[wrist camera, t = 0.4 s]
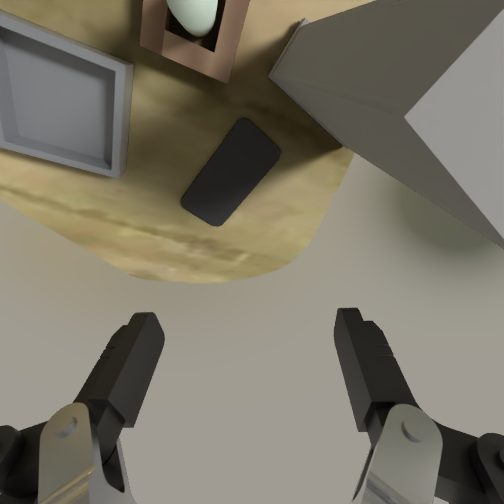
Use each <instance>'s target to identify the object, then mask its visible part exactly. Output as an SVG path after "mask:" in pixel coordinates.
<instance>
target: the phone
mask: <svg viewBox="0 0 504 504" xmlns="http://www.w3.org/2000/svg"><path fill="white" fill-rule="evenodd" d="M279 157H280V150H279V148H278V147H277V146H276V145H275V144H274V143H273V142H272V141H271V140H270V139H269V138H268V137H267V136H266V135H265V134H264V133H262V132H261V131H260V130H259V129H258V128H257V127H256V126H255V125H254V124H253V123H252V122H251V121H249V120H248V119H245V118H243V119H240V120H239V121H238V122H237V123H236V124H235V125H234V127H233V128H232V129H231V131H230V132H229V133H228V135H227V136H226V138H225V139H224V140H223V142H222V143H221V144H220V146H219V147H218V149H217V150H216V151H215V153H214V154H213V156H212V157H211V158H210V160H209V161H208V162H207V164H206V165H205V167H204V168H203V169H202V171H201V172H200V173H199V174H198V176H197V177H196V178H195V180H194V181H193V183H192V184H191V186H190V187H189V189H188V190H187V191H186V193H185V194H184V195H183V197H182V200H181V204H182V206H183V207H184V208H185V209H186V210H188V211H190V212H191V213H193V214H195V215H196V216H198V217H200V218H201V219H203V220H205V221H206V222H208V223H210V224H211V225H213V226H221V225H222V224H223V223H224V222H225V221H226V220H227V219H228V218H229V217H230V215H231V214H232V213H233V212H234V211H235V210H236V208H237V207H238V206H239V205H240V204H241V203H242V201H243V200H244V199H245V198H246V197H247V196H248V194H249V193H250V192H251V191H252V190H253V189H254V187H255V186H256V185H257V184H258V183H259V182H260V180H261V179H262V178H263V177H264V176H265V175H266V174H267V172H268V171H269V170H270V169H271V168H272V167H273V165H274V164H275V163H276V162H277V161H278V159H279Z"/></svg>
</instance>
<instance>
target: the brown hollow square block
mask: <svg viewBox="0 0 504 504" xmlns="http://www.w3.org/2000/svg"><path fill="white" fill-rule="evenodd" d="M249 2H250V0H226V2H225V6H224V11H223V15H222V20H221V24H220V29H219V33H218V38H217V42H216V47H215V51H214V52H211V51H209V50H207V49H205V48H203V47H201V46H199V45H197V44H194V43H192V42H190V41H188V40H186V39H184V38H182V37H180V36H177V35H175V34H173V33H171V32H169V23H170V16H171V10H170V8H169V6H168V4H167V1H166V0H143V9H142V21H141V33H140V45H139V46H141V47H143V48H146V49H148V50H150V51H152V52H155V53H157V54H159V55H162V56H164V57H166V58H168V59H171V60H173V61H175V62H178V63H180V64H182V65H184V66H187V67H189V68H191V69H194V70H196V71H198V72H201V73H203V74H205V75H207V76H210V77H212V78H214V79H217V80H219V81H221V82H223V83H226V84H228V82H229V78H230V74H231V70H232V67H233V63H234V59H235V55H236V51H237V48H238V44H239V40H240V36H241V32H242V29H243V25H244V21H245V17H246V13H247V10H248V6H249Z"/></svg>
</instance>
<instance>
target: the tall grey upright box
mask: <svg viewBox="0 0 504 504" xmlns="http://www.w3.org/2000/svg"><path fill="white" fill-rule="evenodd" d="M268 77H269V78H270V79H271V80H272V81H273V82H275V83H276V84H277V85H278V86H279V87H280V88H281V89H282V90H283V91H284V92H285V93H286V94H288V95H289V96H290V97H291V98H292V99H293V100H294V101H295V102H296V103H297V104H298V105H300V106H301V107H302V108H303V109H304V110H305V111H306V112H307V113H308V114H309V115H310V116H311V117H313V118H314V119H315V120H316V121H317V122H318V123H319V124H320V125H321V126H322V127H323V128H324V129H326V130H327V131H328V132H329V133H330V134H331V135H332V136H333V137H334V138H335V139H336V140H338V141H339V142H340V143H341V144H342V145H343V146H344V147H345V148H347V149H350V150H352V151H353V152H355V153H357V154H358V155H360V156H361V157H363V158H364V159H366V160H367V161H369V162H370V163H372V164H373V165H375V166H377V167H378V168H380V169H381V170H383V171H384V172H386V173H387V174H389V175H390V176H392V177H393V178H395V179H397V180H398V181H400V182H401V183H403V184H404V185H406V186H407V187H409V188H411V189H412V190H414V191H415V192H417V193H418V194H420V195H421V196H423V197H424V198H426V199H428V200H429V201H431V202H432V203H434V204H435V205H437V206H438V207H440V208H441V209H443V210H444V211H446V212H448V213H449V214H450V215H452V216H454V217H455V218H457V219H458V220H460V221H461V222H463V223H465V224H466V225H467V226H469V227H471V228H472V229H474V230H475V231H477V232H478V233H480V234H481V235H483V236H484V237H486V238H487V239H489V240H491V241H492V242H494V243H495V244H497V245H498V246H500V247H502V248H503V249H504V0H376V1H373V2H370V3H367V4H364V5H361V6H358V7H355V8H352V9H349V10H347V11H344V12H341V13H338V14H335V15H332V16H329V17H326V18H323V19H320V20H317V21H315V22H312V23H310V22H309V21H308V20H307V19H306V18H304V19H302V20H301V22H300V24H299V25H298V27H297V29H296V30H295V32H294V34H293V35H292V37H291V39H290V40H289V42H288V44H287V45H286V47H285V48H284V50H283V52H282V53H281V55H280V57H279V58H278V60H277V62H276V63H275V65H274V67H273V68H272V70H271V72H270V73H269V75H268Z"/></svg>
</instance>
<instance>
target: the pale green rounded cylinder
mask: <svg viewBox="0 0 504 504" xmlns="http://www.w3.org/2000/svg"><path fill="white" fill-rule="evenodd" d="M166 1H167V4H168V6H169V8H170V10H171V12H172V13H173V15H174V16H175V17H176V19H177V20H178V21H179V22H180V23H181V25H182V26H183V27H184V28H185V29H186V30H187V31H188V32H189V33H190V34H191V35H193V36H195V37H204V36H206V35H207V34H209V33H210V31H211V30H212V28H213V26H214V22H215V16H216V10H217V3H218V0H166Z"/></svg>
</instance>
